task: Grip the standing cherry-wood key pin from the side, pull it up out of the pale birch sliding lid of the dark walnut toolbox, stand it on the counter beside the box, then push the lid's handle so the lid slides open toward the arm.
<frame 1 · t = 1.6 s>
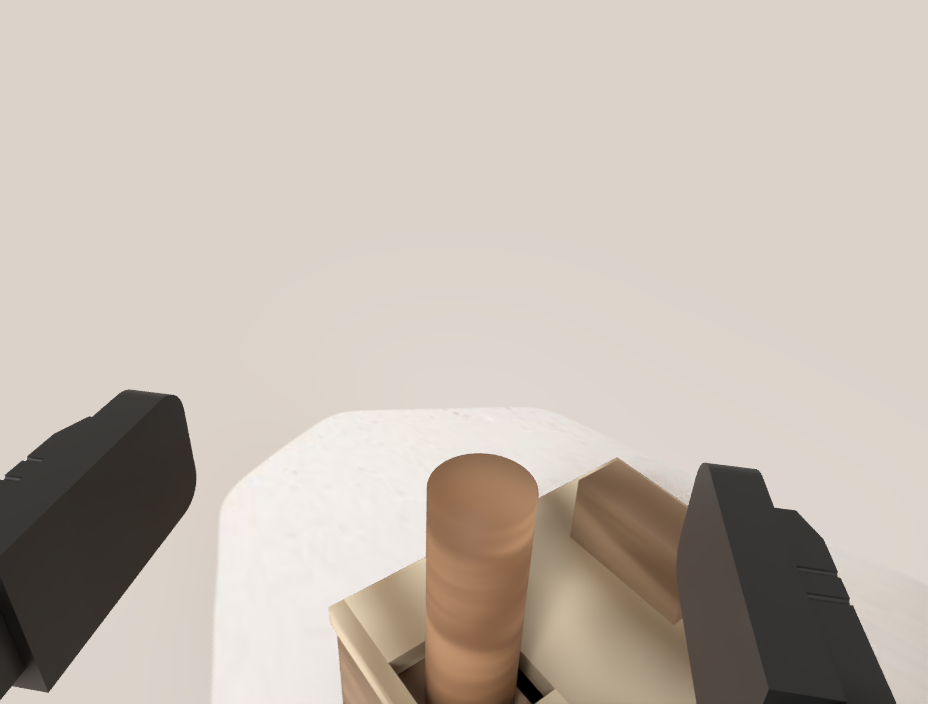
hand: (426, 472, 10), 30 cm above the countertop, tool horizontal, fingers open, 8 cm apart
lid: (584, 582, 32), point 12 cm above the countertop, slide at 0.0 cm
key: (469, 695, 30), point 9 cm above the countertop, touching toolbox
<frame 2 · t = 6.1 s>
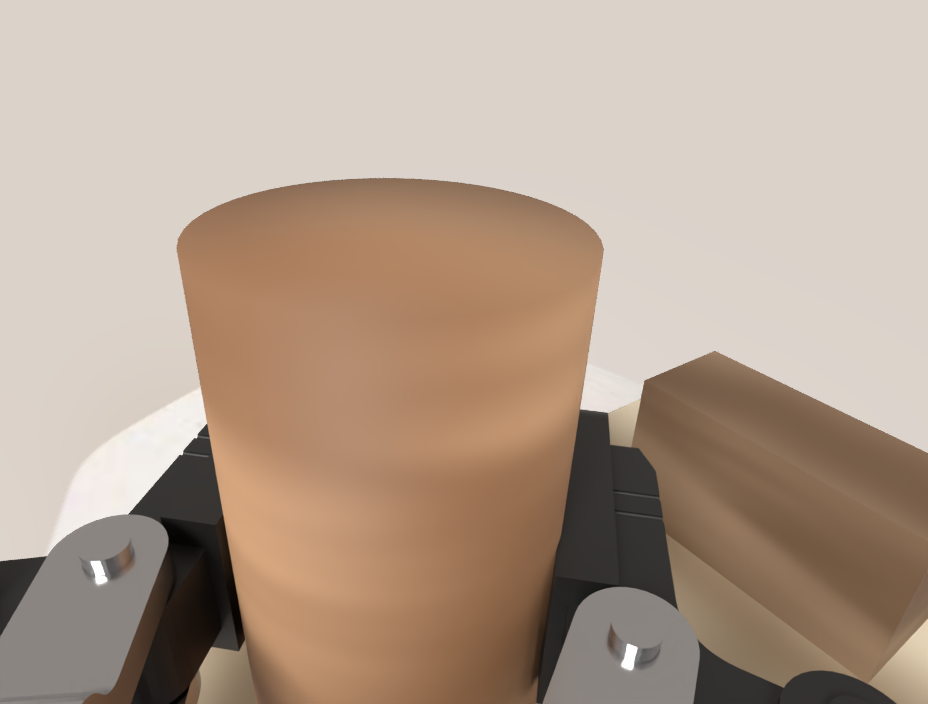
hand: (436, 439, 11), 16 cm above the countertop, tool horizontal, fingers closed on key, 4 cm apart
lid: (667, 586, 15), point 12 cm above the countertop, slide at 0.0 cm
when the fingers open (9 cm above the countertop, at t = 11.5 s): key drops 1 cm, on the countertop.
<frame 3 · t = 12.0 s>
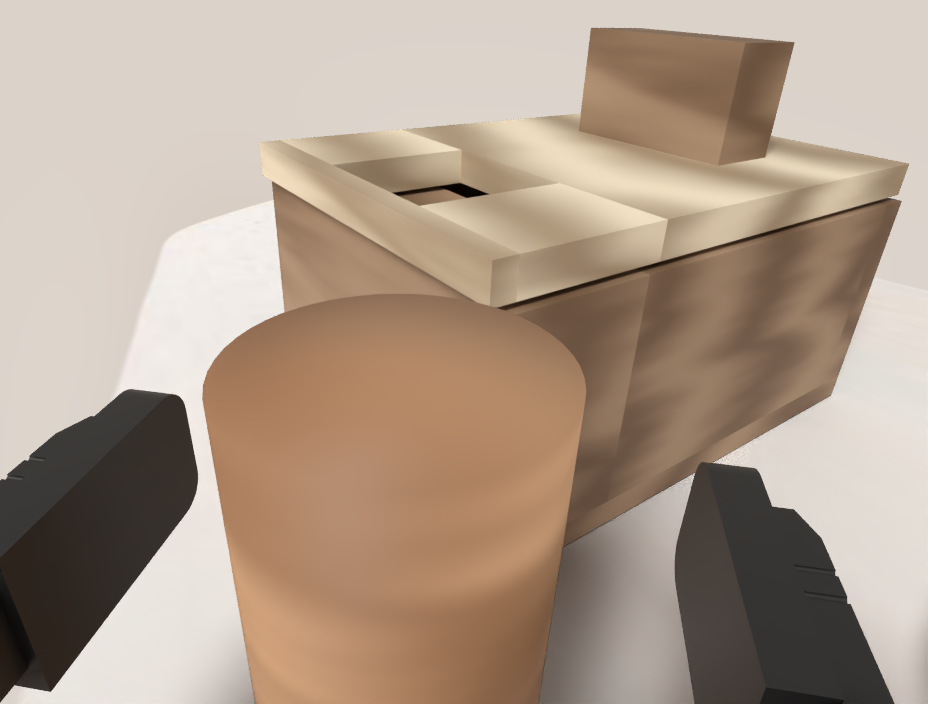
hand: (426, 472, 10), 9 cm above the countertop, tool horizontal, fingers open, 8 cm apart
toolbox: (565, 388, 30), on the countertop
lid: (598, 113, 24), point 12 cm above the countertop, slide at 0.0 cm
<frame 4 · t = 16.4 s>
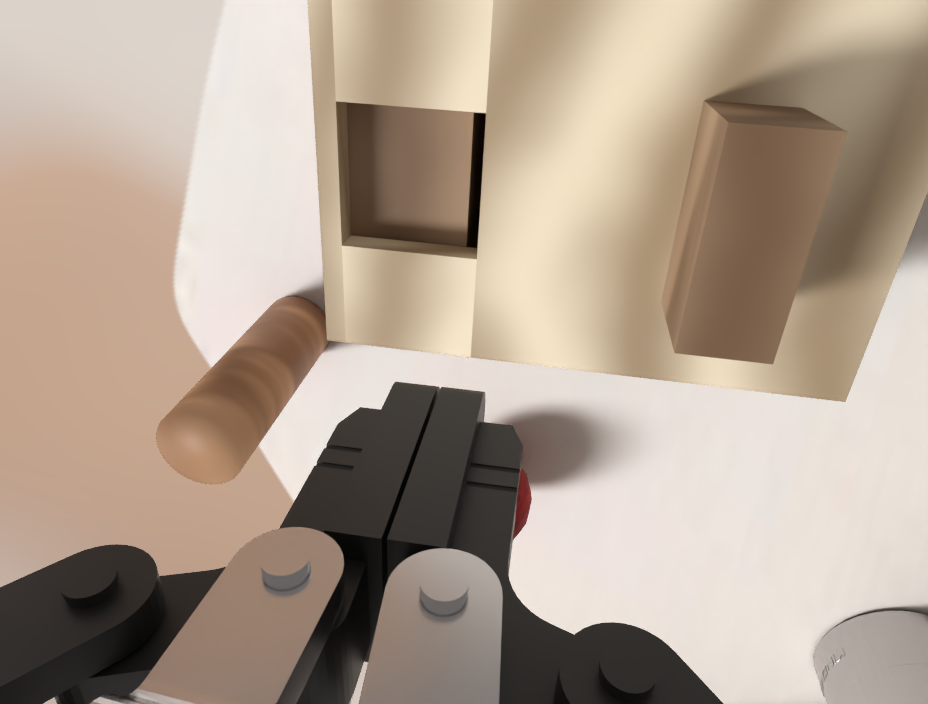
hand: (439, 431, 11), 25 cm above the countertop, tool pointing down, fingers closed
toolbox: (599, 141, 32), on the countertop
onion: (489, 457, 42), on the countertop
lid: (602, 213, 22), point 12 cm above the countertop, slide at 0.0 cm
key: (298, 327, 40), on the countertop
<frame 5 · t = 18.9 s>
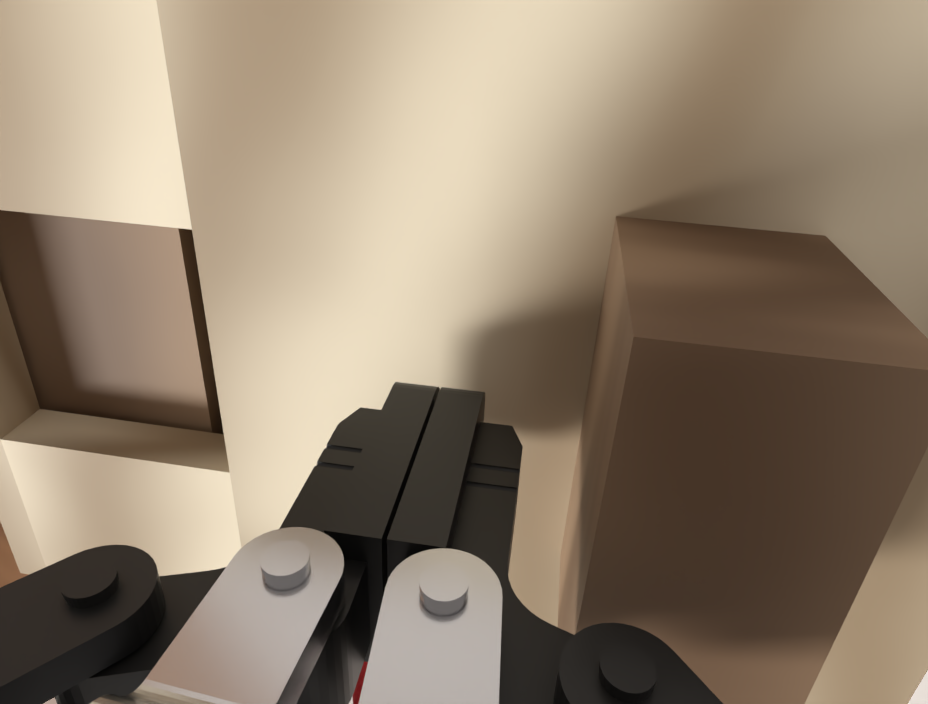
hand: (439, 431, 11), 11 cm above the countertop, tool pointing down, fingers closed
toolbox: (487, 218, 21), on the countertop
lid: (416, 436, 11), point 12 cm above the countertop, slide at 0.5 cm, touching gripper
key: (101, 454, 29), on the countertop
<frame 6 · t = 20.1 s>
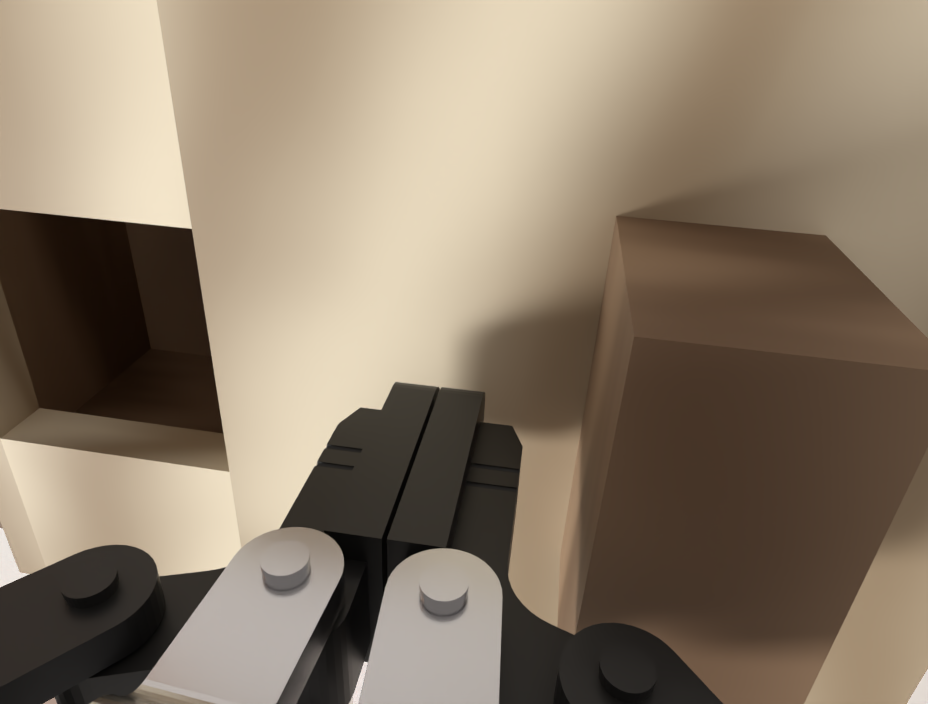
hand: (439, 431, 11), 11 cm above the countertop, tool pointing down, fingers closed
toolbox: (278, 197, 22), on the countertop
lid: (416, 436, 11), point 12 cm above the countertop, slide at 7.4 cm, touching gripper
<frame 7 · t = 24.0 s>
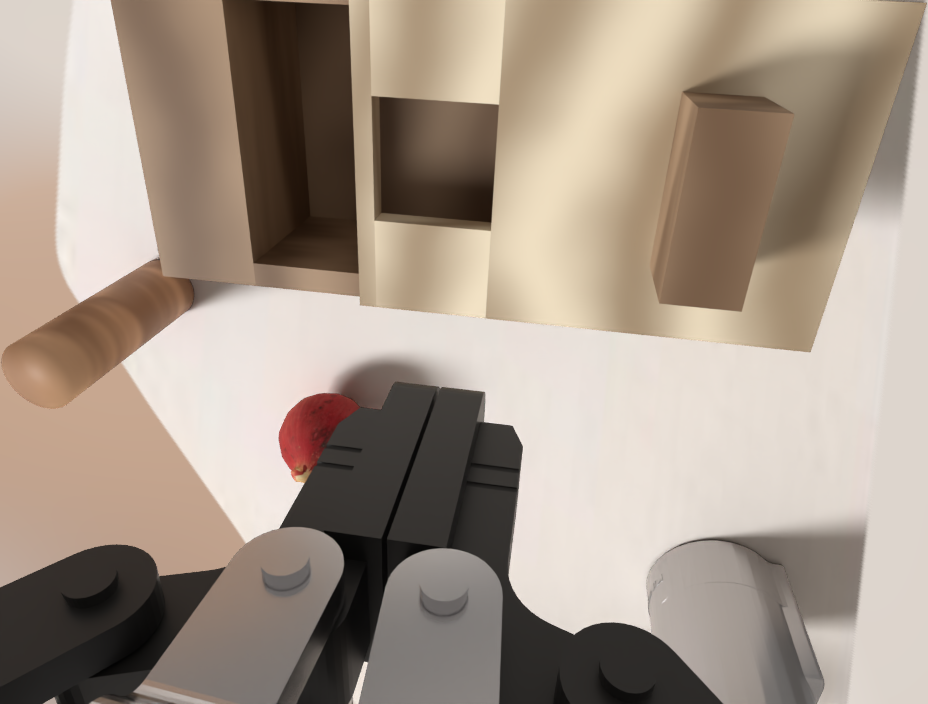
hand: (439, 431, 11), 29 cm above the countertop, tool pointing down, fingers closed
toolbox: (394, 118, 37), on the countertop
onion: (343, 405, 48), on the countertop
lid: (597, 187, 26), point 12 cm above the countertop, slide at 11.2 cm
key: (165, 288, 45), on the countertop
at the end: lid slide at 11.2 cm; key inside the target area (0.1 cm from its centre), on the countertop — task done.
